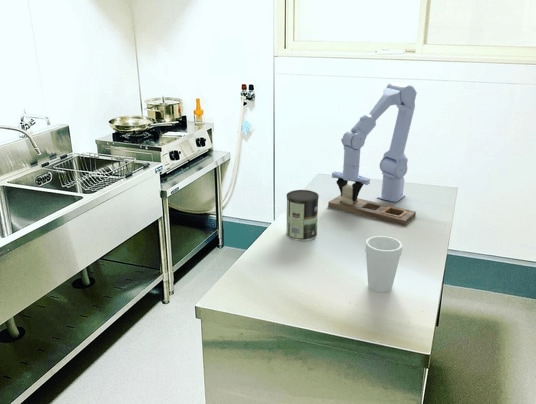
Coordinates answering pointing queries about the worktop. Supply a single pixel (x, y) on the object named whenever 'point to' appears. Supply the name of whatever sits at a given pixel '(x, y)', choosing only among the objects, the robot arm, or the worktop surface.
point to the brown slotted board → (380, 210)
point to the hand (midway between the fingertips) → (349, 199)
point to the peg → (347, 195)
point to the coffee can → (302, 215)
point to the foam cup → (382, 262)
